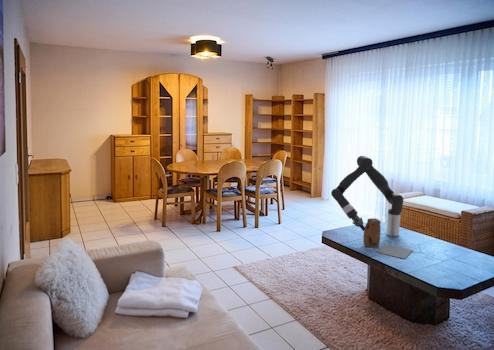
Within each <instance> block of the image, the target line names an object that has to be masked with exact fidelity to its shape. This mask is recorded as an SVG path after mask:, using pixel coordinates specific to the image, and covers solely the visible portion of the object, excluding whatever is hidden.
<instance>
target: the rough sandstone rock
mask: <svg viewBox="0 0 494 350" xmlns="http://www.w3.org/2000/svg"><path fill="white" fill-rule="evenodd" d="M381 222H382V221H381V220H379V219H378V218H368V219H367V222H366V224H365V226H364V227H365V229H364V231H363V246H364V247H366V248H370V247H371V248H377V247H379V245H380V242H381V241H380V240H381Z"/></svg>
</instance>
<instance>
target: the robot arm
mask: <svg viewBox="0 0 494 350" xmlns="http://www.w3.org/2000/svg"><path fill="white" fill-rule="evenodd" d="M373 163H374V162H373V160H372V159H371V158H370V157H368V156H366V155H360V156H358V157H357V159H356V164H357V166H358V167H357V168H356V169H354V171H352V172H351V173H349V174H347V175H346V176H345V177H343V179H342V180H341V181H340V182H339V184H338V185H337V187H335V188H333V189H332V190H331V192H330V195H331V196H332V198H333V199H334V200H335V201H336V202H337V204H338V205H339V207H340V208H341V209H342V211H343V213H344V214H345V215H346V216H347V218H348V219H349V220H352V224H353V225H354V226H356V227H357V228H360V229H361V230H362V231H363V232H364V229H365V226H364V220H363V217H359V215H358V211H357V210H356V209H355V207H354V206H353V205H352V204H351V203H350V201H349V200H348V199H347V198H346V196H344V194H345V192H346V190H348V189H349V187H351V186H352V185H353V183H355V182H356V181H357V180H358V178H360V177H361V176H362V175H364V173H365V174H366V175H367V177H368V178H369V179H370V180H371V182H372V183H373V185H374V186H375V187H376V188H377V189H378V191H380V193H382V194H383V196H384V198H385V199H386V201H387V203H389V204H390V205H391V208H389V209H388V212H387V213H388V214H387V222H386V232H385V233H386V235H387V236H389V237H399V234H400V225H401V214H402V211H403V205H404V198H403V195H401V194H399V193H395V192H394V191H393V190H392V188H391V187H390V185H389V182H388V180H387V179H386V178H385V176H384V175H383V174H382V173H381V172H380V171H379V170H377V168H376V167H374V166H373Z"/></svg>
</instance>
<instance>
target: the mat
mask: <svg viewBox="0 0 494 350" xmlns="http://www.w3.org/2000/svg"><path fill="white" fill-rule="evenodd" d="M413 251H414V249H410V248H404V247H400V246H397V245H396V246H395V245H391V244H387V243H384V244H383V245H381V246H380V247H378V249H376V250H374V252H375V253H377V254H379V255H380V254H381V255H385V256H390V257H393V258H397V259H401V260H402V259H403V260H405V259H407V258H408V257H409V256H410V254H411V253H413Z"/></svg>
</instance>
